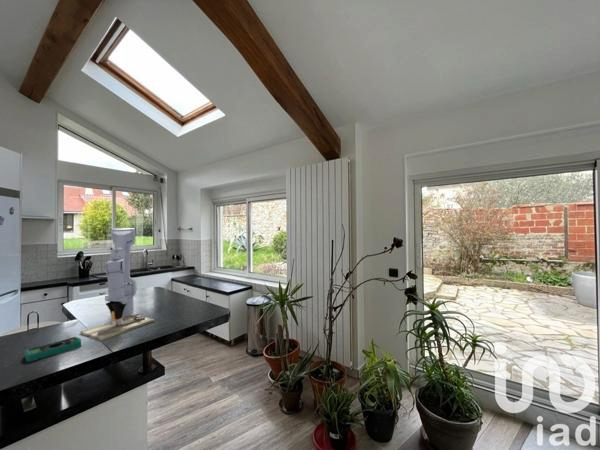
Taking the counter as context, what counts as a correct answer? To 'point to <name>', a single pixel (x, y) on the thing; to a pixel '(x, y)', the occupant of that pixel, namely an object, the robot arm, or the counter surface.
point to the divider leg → (116, 321)
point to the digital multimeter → (52, 348)
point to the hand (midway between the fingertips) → (117, 318)
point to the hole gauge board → (116, 327)
